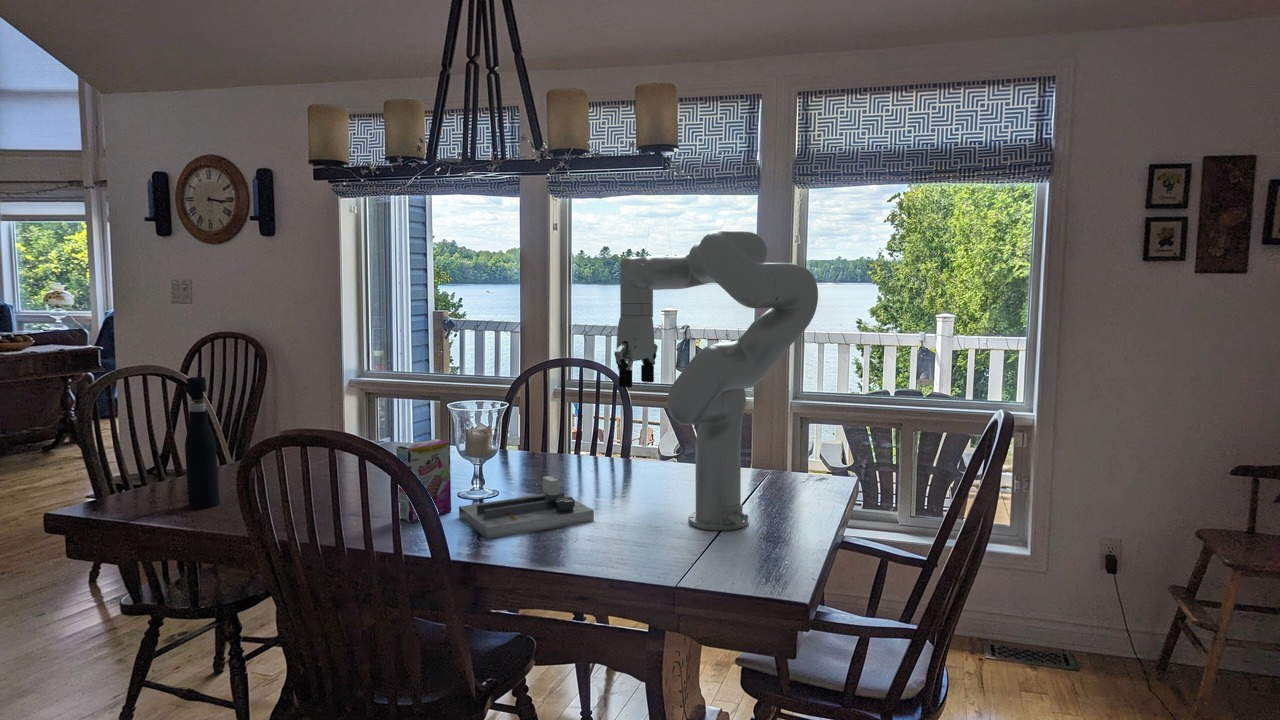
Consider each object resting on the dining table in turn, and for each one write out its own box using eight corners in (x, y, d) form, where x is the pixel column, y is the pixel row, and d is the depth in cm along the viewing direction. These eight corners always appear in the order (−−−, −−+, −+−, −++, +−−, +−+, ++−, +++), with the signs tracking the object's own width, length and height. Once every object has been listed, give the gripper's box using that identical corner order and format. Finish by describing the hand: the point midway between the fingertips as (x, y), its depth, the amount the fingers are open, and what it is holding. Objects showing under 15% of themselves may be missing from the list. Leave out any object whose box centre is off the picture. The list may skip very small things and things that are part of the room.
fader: (559, 505, 186) (558, 480, 186) (550, 506, 185) (550, 481, 185) (551, 500, 190) (550, 476, 190) (542, 501, 189) (542, 477, 189)
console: (593, 520, 183) (593, 500, 183) (487, 539, 171) (486, 517, 171) (559, 501, 199) (558, 482, 198) (459, 517, 187) (458, 497, 187)
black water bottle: (206, 509, 195) (198, 379, 192) (182, 508, 196) (173, 379, 193) (225, 502, 201) (217, 376, 198) (202, 501, 203) (193, 376, 199)
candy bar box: (411, 524, 182) (408, 448, 181) (397, 519, 186) (394, 445, 184) (453, 512, 191) (450, 440, 189) (439, 508, 194) (436, 437, 193)
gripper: (642, 308, 205) (642, 379, 207) (602, 312, 191) (602, 388, 193) (669, 309, 202) (669, 381, 203) (630, 313, 187) (630, 390, 189)
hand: (636, 384), depth 198 cm, fingers open, 9 cm apart
